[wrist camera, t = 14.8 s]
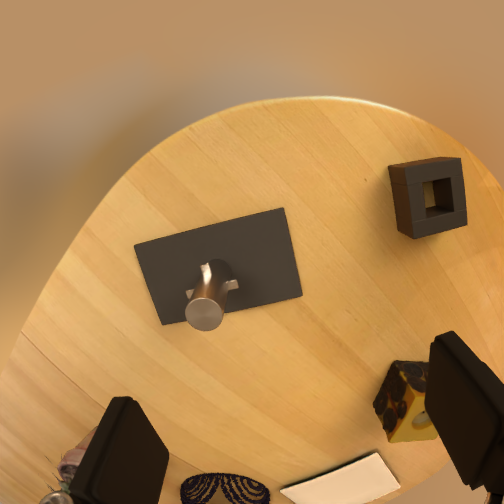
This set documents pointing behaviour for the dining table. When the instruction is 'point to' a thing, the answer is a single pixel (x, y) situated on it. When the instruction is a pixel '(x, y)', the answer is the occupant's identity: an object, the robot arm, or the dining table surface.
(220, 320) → the bronze metal rod
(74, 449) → the potted plant
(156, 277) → the mat
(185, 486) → the decorative bowl
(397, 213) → the dark square ring block
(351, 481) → the plate
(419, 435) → the candle
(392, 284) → the dining table surface
